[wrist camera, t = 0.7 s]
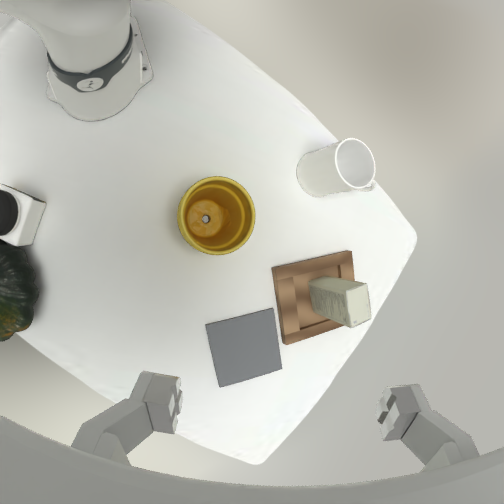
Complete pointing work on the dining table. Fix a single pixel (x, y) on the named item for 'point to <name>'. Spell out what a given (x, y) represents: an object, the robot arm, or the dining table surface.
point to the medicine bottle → (19, 216)
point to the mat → (244, 347)
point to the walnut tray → (306, 294)
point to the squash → (15, 291)
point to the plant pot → (216, 215)
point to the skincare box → (340, 300)
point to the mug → (337, 169)
